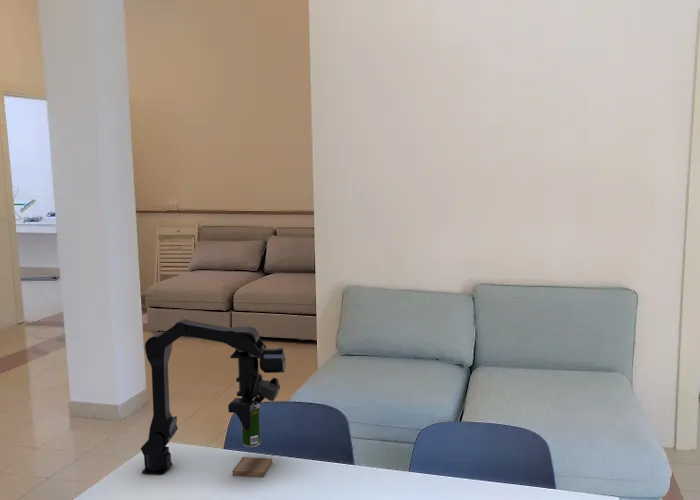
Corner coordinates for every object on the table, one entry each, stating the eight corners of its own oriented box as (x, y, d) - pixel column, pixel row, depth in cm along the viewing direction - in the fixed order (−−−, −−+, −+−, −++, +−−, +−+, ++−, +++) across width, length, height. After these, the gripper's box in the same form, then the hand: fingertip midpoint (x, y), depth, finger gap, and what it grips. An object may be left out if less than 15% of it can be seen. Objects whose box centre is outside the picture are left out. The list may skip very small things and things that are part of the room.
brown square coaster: (232, 477, 180) (232, 470, 180) (243, 463, 189) (242, 456, 189) (263, 479, 179) (263, 472, 179) (272, 465, 188) (272, 458, 187)
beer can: (264, 444, 183) (263, 403, 181) (248, 449, 179) (246, 408, 178) (254, 438, 187) (253, 398, 185) (238, 443, 183) (236, 403, 182)
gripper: (266, 384, 170) (268, 440, 172) (285, 364, 189) (287, 415, 190) (226, 382, 172) (228, 438, 174) (248, 362, 190) (250, 413, 192)
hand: (250, 426), depth 182 cm, fingers closed on beer can, 5 cm apart
